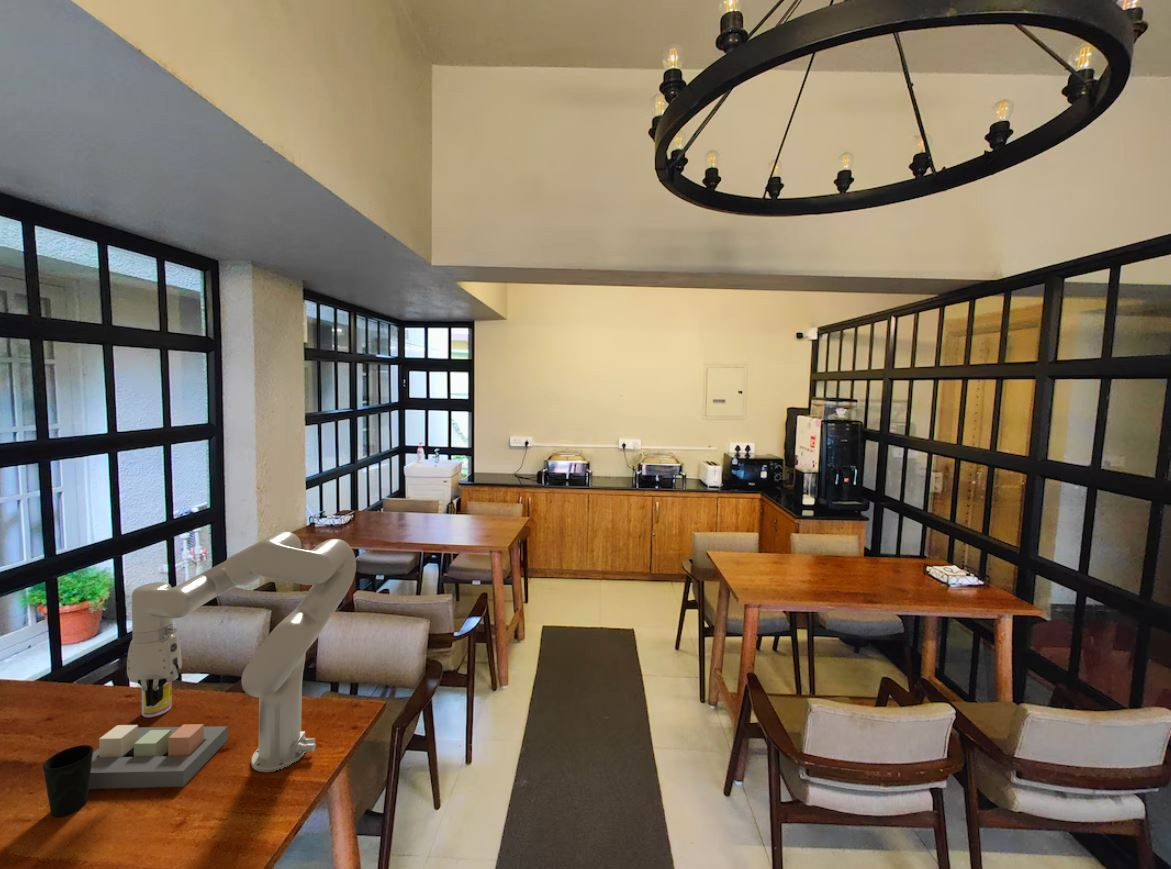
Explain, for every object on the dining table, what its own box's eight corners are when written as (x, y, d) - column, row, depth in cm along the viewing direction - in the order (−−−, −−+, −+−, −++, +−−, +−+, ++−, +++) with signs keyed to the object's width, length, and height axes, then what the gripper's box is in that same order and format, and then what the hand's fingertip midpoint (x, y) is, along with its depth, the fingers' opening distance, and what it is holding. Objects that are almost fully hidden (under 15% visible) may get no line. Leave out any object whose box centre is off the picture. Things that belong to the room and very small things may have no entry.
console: (227, 740, 130) (227, 726, 130) (183, 786, 114) (183, 770, 114) (125, 741, 128) (125, 727, 128) (66, 789, 112) (66, 773, 112)
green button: (171, 748, 124) (171, 729, 123) (155, 762, 119) (155, 743, 118) (150, 748, 123) (150, 730, 123) (134, 762, 118) (134, 743, 118)
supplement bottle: (175, 709, 142) (175, 668, 141) (146, 721, 136) (146, 678, 135) (166, 701, 145) (167, 661, 144) (138, 712, 139) (138, 670, 139)
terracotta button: (203, 742, 124) (203, 724, 124) (189, 756, 119) (189, 737, 119) (183, 742, 124) (183, 724, 124) (168, 756, 119) (168, 737, 119)
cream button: (138, 743, 123) (138, 724, 123) (121, 757, 118) (120, 738, 118) (117, 743, 122) (117, 725, 122) (99, 757, 117) (99, 738, 117)
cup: (92, 788, 113) (91, 739, 112) (95, 806, 108) (95, 756, 107) (43, 808, 107) (42, 757, 106) (44, 828, 102) (43, 775, 101)
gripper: (195, 625, 124) (196, 693, 125) (134, 626, 122) (135, 694, 123) (173, 639, 116) (174, 711, 117) (107, 640, 115) (109, 713, 116)
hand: (154, 702), depth 120 cm, fingers closed
